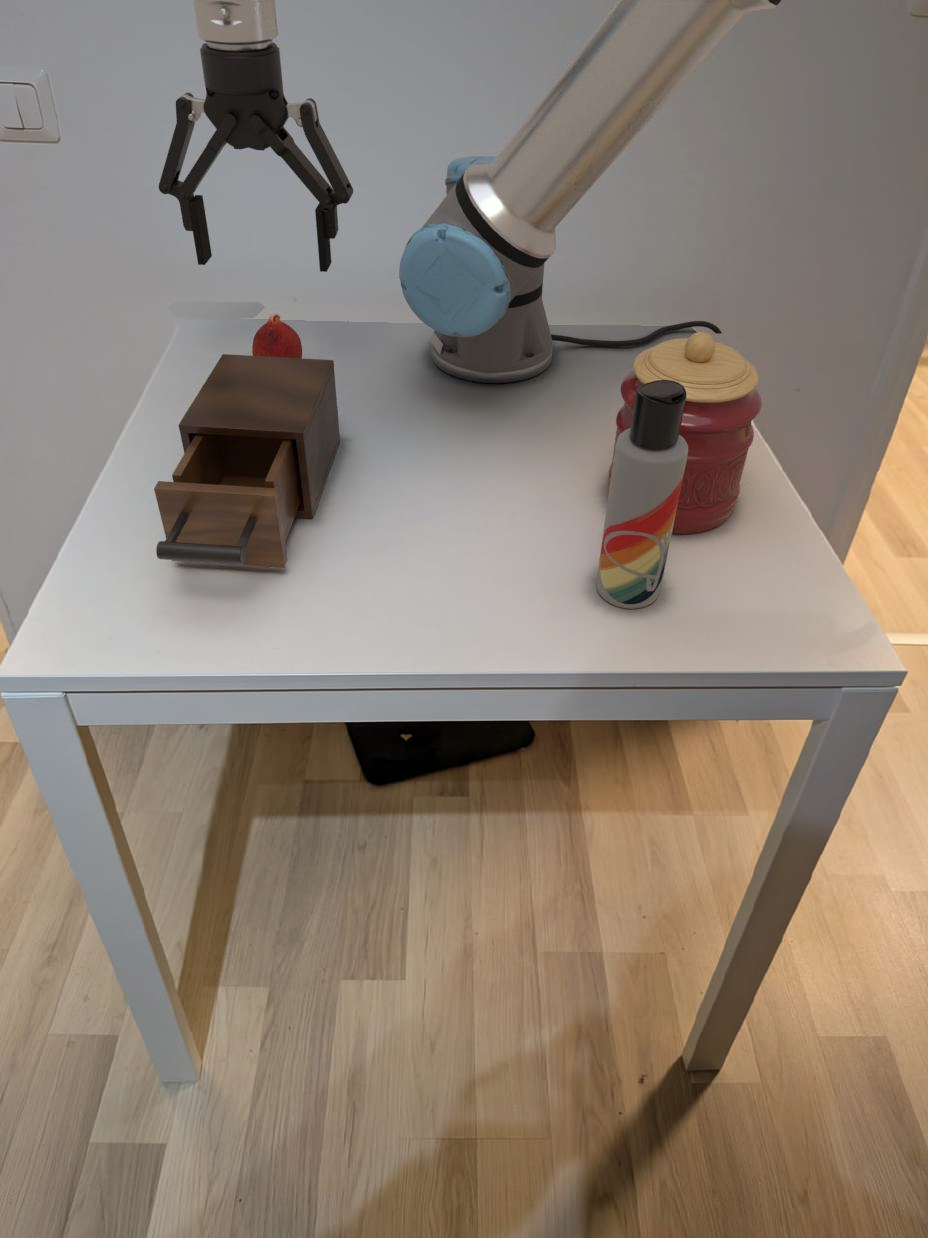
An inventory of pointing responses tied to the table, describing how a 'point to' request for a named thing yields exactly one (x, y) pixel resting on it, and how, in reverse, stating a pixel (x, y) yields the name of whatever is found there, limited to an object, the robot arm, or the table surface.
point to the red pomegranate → (276, 340)
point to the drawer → (231, 501)
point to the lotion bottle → (643, 497)
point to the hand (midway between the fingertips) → (265, 263)
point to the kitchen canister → (702, 421)
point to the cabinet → (273, 411)
